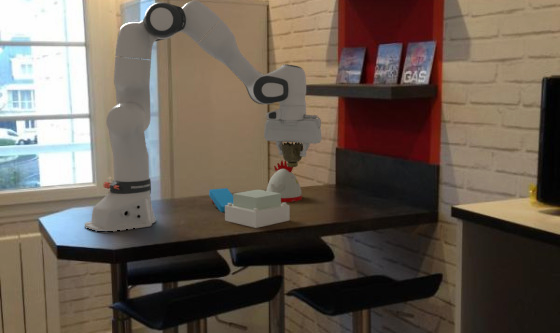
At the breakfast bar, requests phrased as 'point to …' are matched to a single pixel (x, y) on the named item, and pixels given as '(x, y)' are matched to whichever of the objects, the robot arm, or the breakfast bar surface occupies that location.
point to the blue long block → (221, 198)
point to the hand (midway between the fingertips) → (292, 155)
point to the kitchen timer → (285, 183)
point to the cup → (292, 153)
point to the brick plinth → (257, 209)
